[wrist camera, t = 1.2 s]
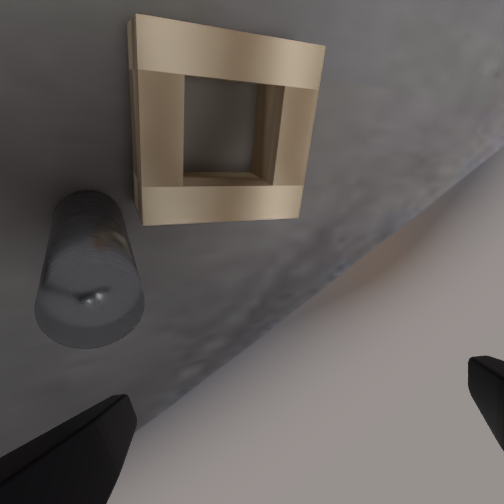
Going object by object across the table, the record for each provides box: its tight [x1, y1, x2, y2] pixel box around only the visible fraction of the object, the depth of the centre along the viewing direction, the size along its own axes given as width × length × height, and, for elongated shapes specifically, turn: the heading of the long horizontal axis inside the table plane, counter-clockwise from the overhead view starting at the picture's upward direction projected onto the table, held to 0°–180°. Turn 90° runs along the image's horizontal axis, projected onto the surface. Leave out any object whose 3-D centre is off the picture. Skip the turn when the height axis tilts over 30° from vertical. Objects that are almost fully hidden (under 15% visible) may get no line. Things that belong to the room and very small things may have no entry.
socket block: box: [127, 13, 326, 226], centre depth 21 cm, size 10×10×4 cm
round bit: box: [35, 190, 144, 349], centre depth 18 cm, size 4×4×10 cm
